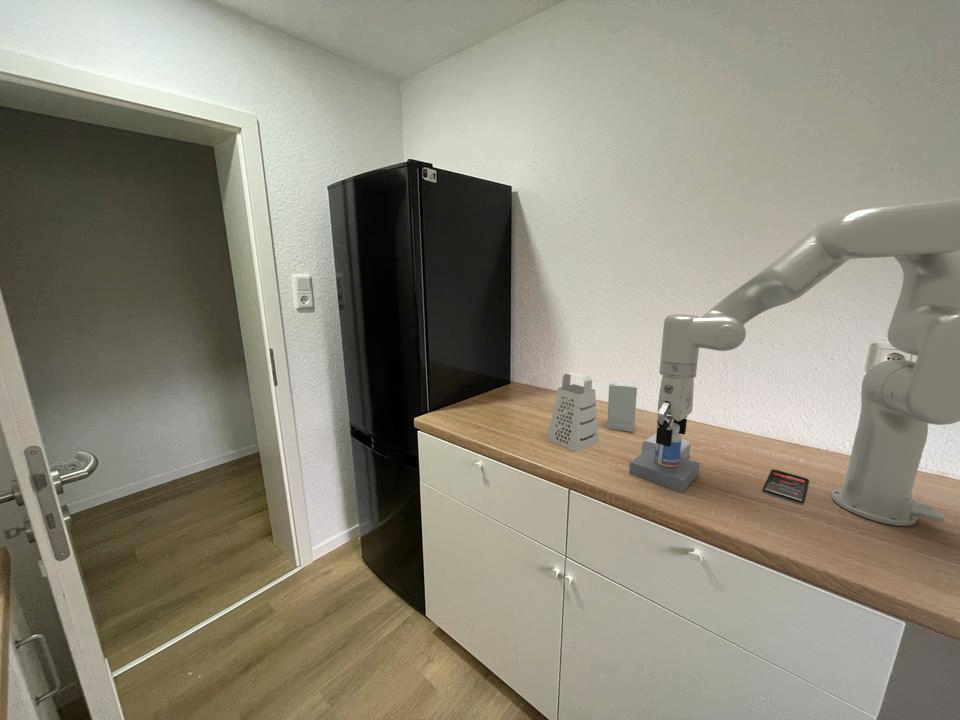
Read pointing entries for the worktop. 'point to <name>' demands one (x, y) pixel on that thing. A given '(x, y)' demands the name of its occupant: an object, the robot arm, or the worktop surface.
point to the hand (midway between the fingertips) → (670, 438)
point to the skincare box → (622, 405)
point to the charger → (652, 444)
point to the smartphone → (786, 486)
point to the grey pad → (664, 471)
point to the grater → (575, 414)
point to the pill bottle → (669, 450)
